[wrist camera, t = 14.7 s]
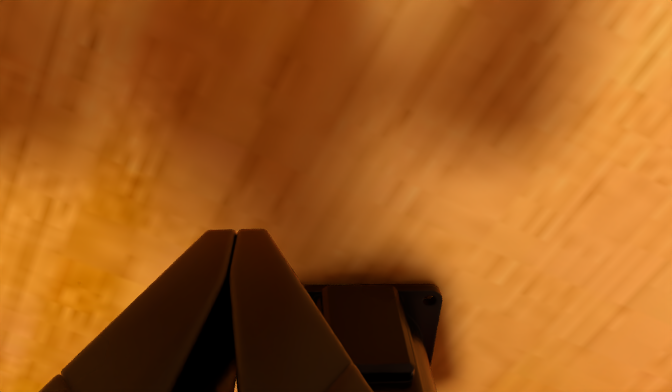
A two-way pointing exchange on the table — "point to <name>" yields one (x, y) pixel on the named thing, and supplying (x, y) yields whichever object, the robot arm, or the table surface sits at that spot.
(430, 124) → the table surface
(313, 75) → the table surface
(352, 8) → the table surface
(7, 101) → the table surface
